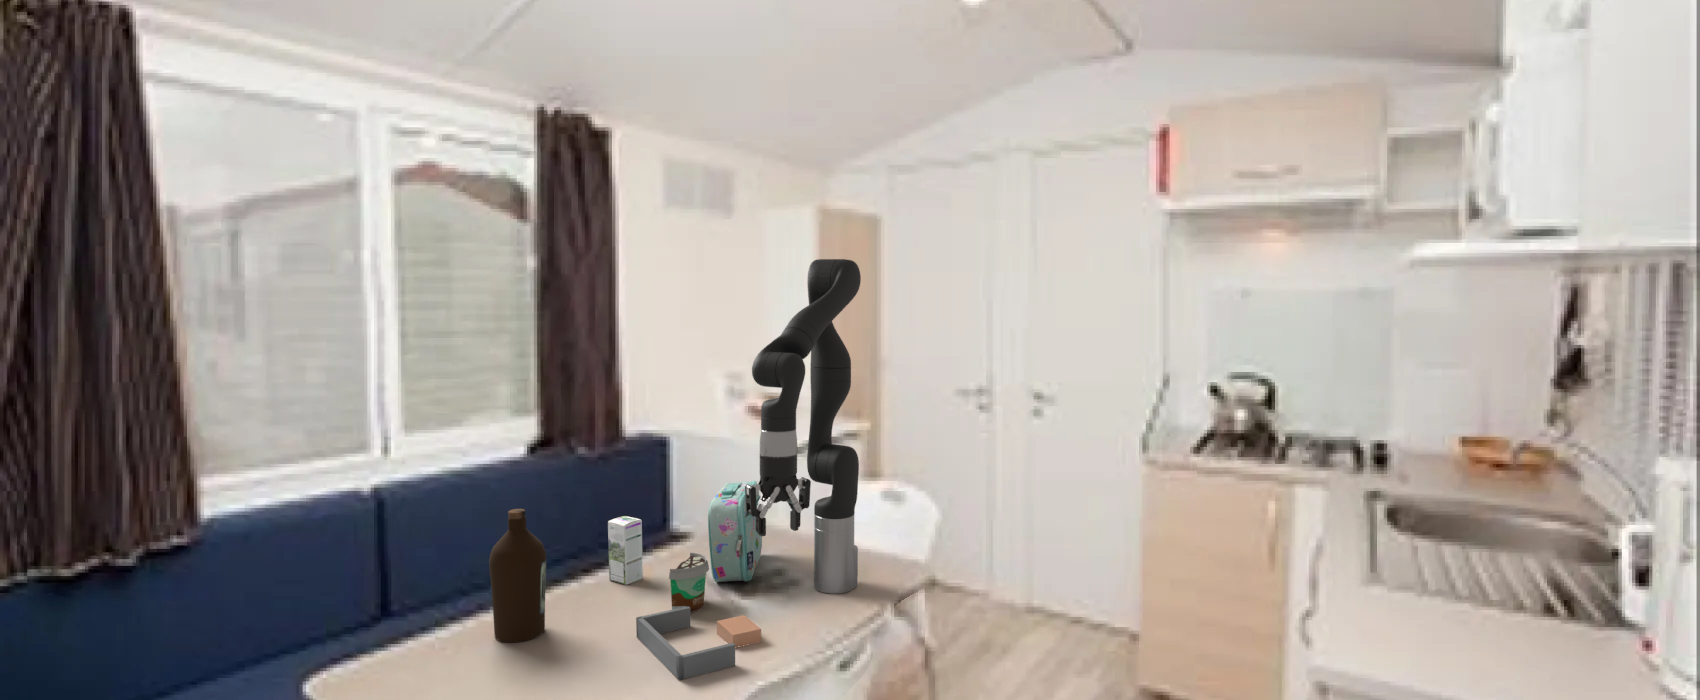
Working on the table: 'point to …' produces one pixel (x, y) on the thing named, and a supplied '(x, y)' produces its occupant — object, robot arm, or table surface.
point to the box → (669, 656)
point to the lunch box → (733, 535)
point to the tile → (739, 631)
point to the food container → (689, 583)
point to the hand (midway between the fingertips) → (778, 532)
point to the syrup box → (625, 550)
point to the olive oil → (518, 582)
